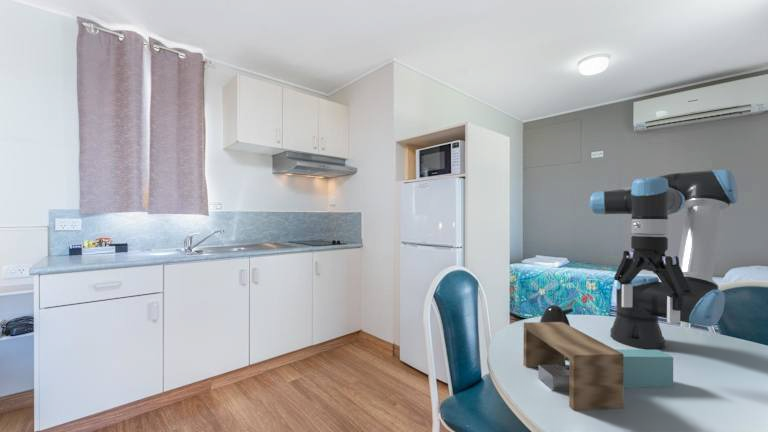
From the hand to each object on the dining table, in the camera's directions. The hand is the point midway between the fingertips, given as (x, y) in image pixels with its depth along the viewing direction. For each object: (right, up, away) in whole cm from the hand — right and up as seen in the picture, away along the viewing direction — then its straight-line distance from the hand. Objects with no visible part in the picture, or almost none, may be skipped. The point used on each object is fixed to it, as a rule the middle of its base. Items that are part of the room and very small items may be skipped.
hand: (648, 314), depth 84 cm
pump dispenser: (-15, -18, +18) cm, 30 cm away
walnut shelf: (-23, -18, -2) cm, 29 cm away
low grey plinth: (-26, -18, -2) cm, 32 cm away
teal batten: (-7, -18, 0) cm, 20 cm away
